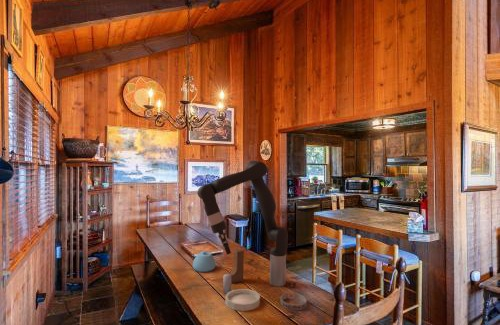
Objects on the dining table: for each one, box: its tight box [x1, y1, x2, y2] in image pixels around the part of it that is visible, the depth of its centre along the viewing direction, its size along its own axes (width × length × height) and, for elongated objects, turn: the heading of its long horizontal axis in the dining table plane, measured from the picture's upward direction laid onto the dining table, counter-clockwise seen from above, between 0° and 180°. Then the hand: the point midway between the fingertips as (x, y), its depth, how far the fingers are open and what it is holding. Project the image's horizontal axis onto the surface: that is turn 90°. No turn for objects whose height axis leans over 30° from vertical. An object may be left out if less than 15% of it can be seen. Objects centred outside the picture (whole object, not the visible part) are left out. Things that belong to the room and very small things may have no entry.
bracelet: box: [279, 292, 308, 311], centre depth 144 cm, size 14×14×3 cm
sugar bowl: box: [192, 250, 216, 273], centre depth 190 cm, size 15×15×12 cm
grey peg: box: [222, 273, 232, 295], centre depth 156 cm, size 4×4×9 cm
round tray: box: [224, 288, 261, 312], centre depth 145 cm, size 17×17×3 cm
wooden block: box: [226, 248, 245, 284], centre depth 171 cm, size 9×4×18 cm, turn 119°
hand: (228, 252), depth 145 cm, fingers open, 8 cm apart
